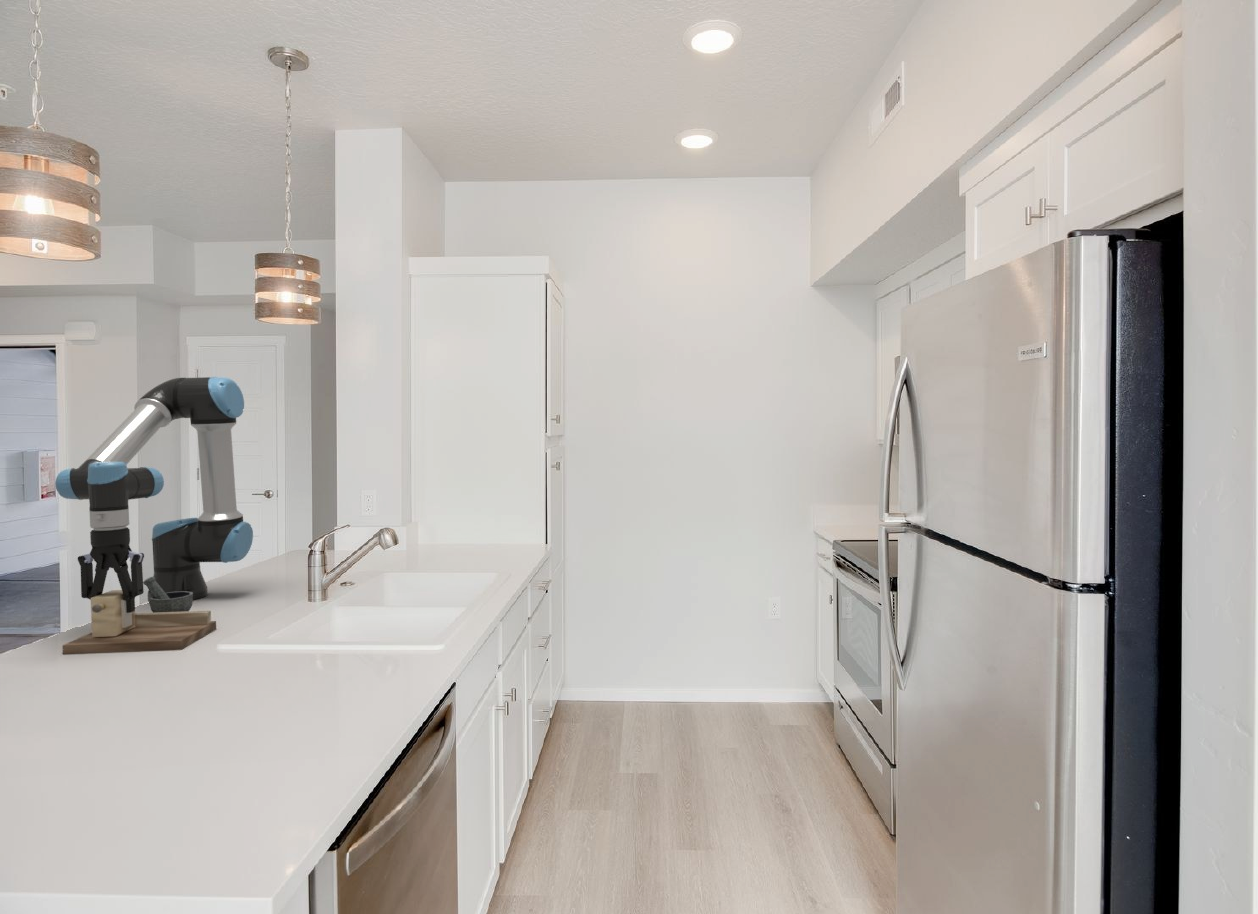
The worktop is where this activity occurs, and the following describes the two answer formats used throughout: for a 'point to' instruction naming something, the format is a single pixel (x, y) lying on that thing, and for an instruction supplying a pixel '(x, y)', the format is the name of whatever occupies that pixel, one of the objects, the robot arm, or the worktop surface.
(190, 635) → the walnut board
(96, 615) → the marking gauge
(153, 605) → the mortar and pestle
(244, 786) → the worktop surface
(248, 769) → the worktop surface
